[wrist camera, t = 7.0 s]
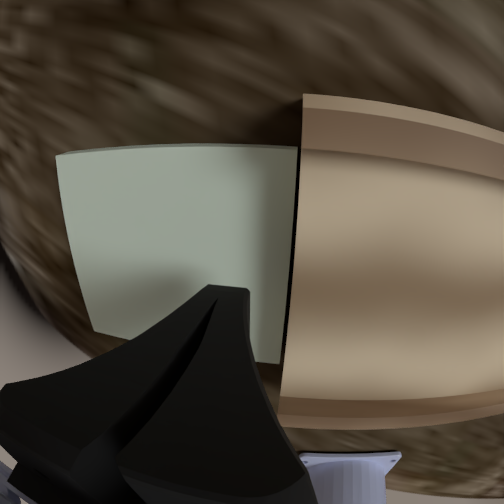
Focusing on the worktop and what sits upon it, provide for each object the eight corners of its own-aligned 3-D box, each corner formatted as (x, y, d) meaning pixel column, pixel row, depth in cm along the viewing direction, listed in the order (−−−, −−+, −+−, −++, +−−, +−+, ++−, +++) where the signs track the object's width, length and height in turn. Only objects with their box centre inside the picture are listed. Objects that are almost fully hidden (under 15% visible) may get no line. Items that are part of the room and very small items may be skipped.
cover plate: (282, 342, 15) (279, 364, 14) (106, 315, 16) (94, 331, 15) (298, 145, 11) (297, 150, 10) (76, 149, 12) (55, 155, 11)
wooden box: (498, 372, 13) (517, 413, 10) (282, 375, 15) (275, 430, 12) (575, 165, 8) (620, 187, 5) (302, 97, 10) (303, 91, 6)
